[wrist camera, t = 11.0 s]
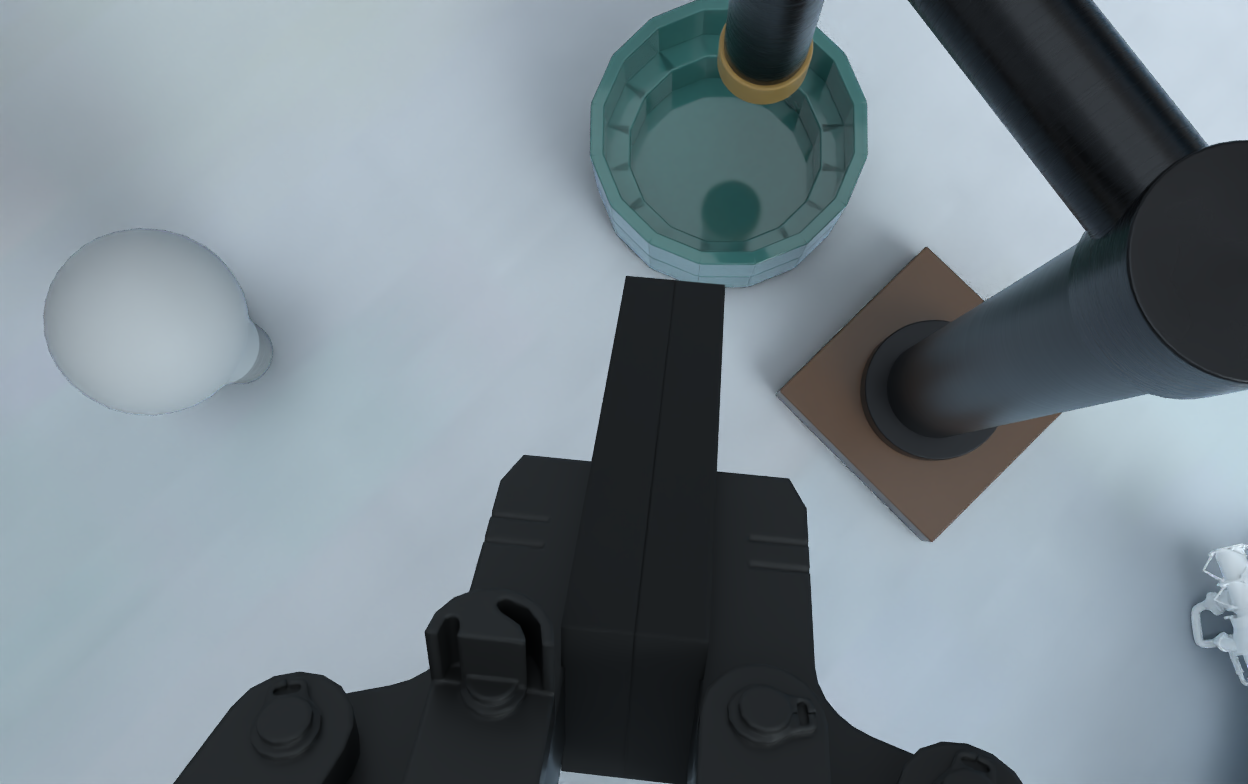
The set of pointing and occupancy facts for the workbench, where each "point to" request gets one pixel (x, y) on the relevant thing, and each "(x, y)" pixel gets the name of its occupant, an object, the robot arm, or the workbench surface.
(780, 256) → the basin
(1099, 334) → the spout
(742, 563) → the robot arm
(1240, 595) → the rocket engine
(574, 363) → the workbench surface
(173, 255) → the lightbulb
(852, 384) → the black post
